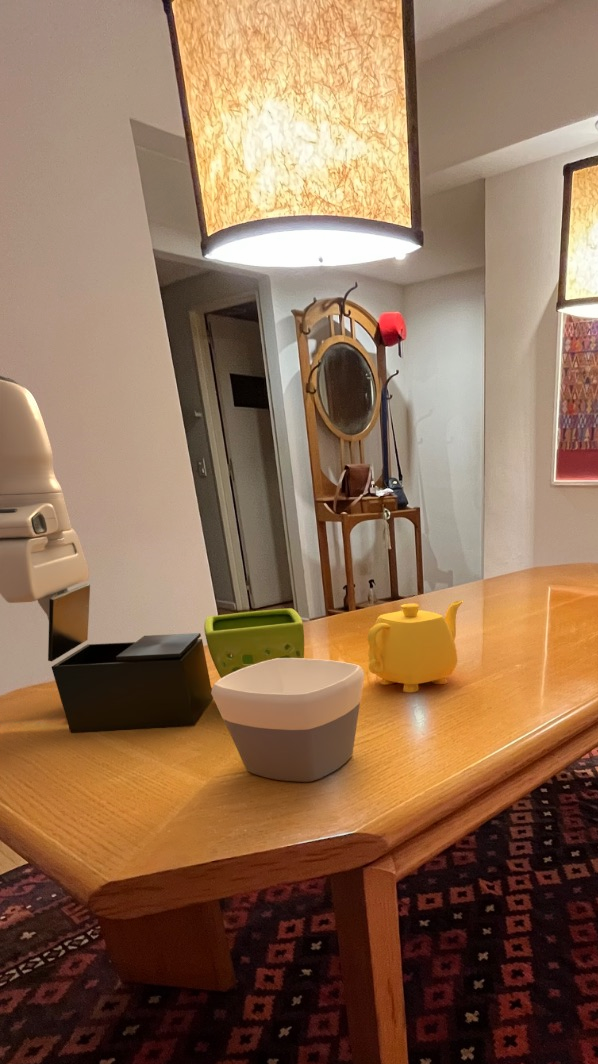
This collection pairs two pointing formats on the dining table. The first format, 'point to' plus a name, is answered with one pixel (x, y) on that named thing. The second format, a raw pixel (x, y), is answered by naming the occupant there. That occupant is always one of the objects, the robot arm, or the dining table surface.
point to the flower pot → (253, 638)
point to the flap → (68, 621)
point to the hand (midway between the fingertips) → (61, 624)
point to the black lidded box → (135, 684)
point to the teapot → (413, 646)
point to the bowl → (292, 715)
